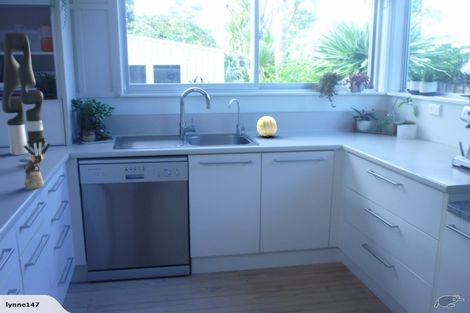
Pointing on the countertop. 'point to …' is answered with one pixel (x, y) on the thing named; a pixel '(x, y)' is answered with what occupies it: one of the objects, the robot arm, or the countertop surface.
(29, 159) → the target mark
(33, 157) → the ball
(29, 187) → the figurine
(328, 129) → the countertop surface
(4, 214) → the countertop surface
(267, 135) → the cantaloupe
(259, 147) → the countertop surface
